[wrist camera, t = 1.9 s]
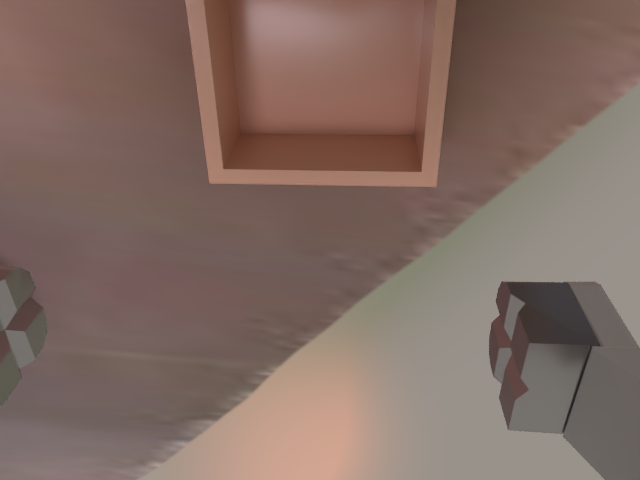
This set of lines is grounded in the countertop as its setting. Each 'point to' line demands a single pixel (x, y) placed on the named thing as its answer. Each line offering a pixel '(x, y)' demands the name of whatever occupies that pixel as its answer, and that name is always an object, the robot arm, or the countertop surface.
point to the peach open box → (322, 89)
